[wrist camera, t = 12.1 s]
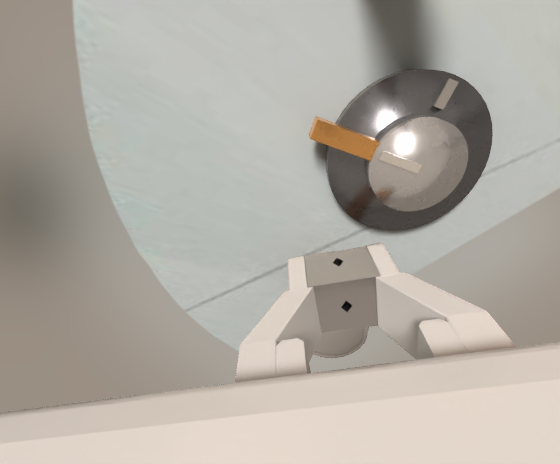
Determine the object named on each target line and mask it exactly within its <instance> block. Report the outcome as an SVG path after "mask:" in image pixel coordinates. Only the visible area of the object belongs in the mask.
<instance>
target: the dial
mask: <svg viewBox="0 0 560 464" xmlns="http://www.w3.org/2000/svg"><path fill="white" fill-rule="evenodd" d="M309 137H310V139H312V140H315V141H317V142H320V143H323V144H326V145H328V146H331V147H334V148H337V149H339V150H342V151H345V152H348V153H350V154H353V155H356V156H359V157H361V158H364V159H365V162H364V171H365V177H366V180H367V182H368V184H369V186H370V188H371V189H372V190H373V192H374V193H375V195H376V196H377V197H378V198H379V200H380V201H381V202H383V203H384V204H385V205H387V206H388V207H390V208H393V209H395V210H399V211H418V210H423V209H426V208H429V207H431V206H433V205H435V204H437V203H439V202H440V201H442V200H443V199H444V198H446V197H447V196H448V195H449V194H450V193H451V192H452V191H453V190H454V189H455V188H456V186H457V185H458V184H459V182H460V181H461V179H462V177H463V175H464V173H465V170H466V167H467V162H468V147H467V143H466V140H465V138H464V136H463V134H462V133H461V132H460V131H459V129H458V128H457V127H455V126H454V125H453V124H451V123H449V122H447V121H444V120H441V119H439V118H436V117H433V116H430V115H424V114H413V115H408V116H404V117H401V118H399V119H396V120H395V121H393V122H391V123H390V124H388V125H387V126H385V127H384V128H383V129H382V130H381V131H380V132H379V133H378V134H377V135H376V136H375V138H372V137H370V136H367V135H364V134H362V133H359V132H357V131H354V130H351V129H349V128H346V127H343V126H341V125H338V124H335V123H333V122H330V121H327V120H325V119H322V118H319V117H317V116H316V117H315V120H314V122H313V125H312V127H311V130H310V133H309Z"/></svg>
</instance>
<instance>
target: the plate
mask: <svg viewBox="0 0 560 464" xmlns="http://www.w3.org/2000/svg"><path fill="white" fill-rule="evenodd" d="M413 114H424V115H430V116H433V117H436V118H439V119H441V120H444V121H447V122H449V123H451V124H453V125H454V126H455V127H457V128H458V129H459V131H460V132H461V133H462V134H463V136H464V138H465V140H466V143H467V147H468V162H467V167H466V170H465V173H464V175H463V177H462V179H461V181H460V182H459V184H458V185H457V186H456V188H455V189H454V190H453V191H452V192H451V193H450V194H449V195H448V196H447V197H446V198H444V199H443V200H442V201H440V202H439V203H437V204H435V205H433V206H431V207H429V208H426V209H423V210H418V211H399V210H395V209H393V208H390V207H388V206H387V205H385V204H384V203H383V202H381V201H380V200H379V198H378V197H377V196H376V195H375V193H374V192H373V190H372V189H371V188H370V186H369V184H368V182H367V180H366V177H365V171H364V162H365V159H364V158H361V157H359V156H356V155H353V154H350V153H348V152H345V151H342V150H339V149H337V148H334V147H331V146H327V151H326V172H327V177H328V181H329V184H330V187H331V189H332V192H333V194H334V196H335V198H336V200H337V201H338V203H339V204H340V206H341V207H342V208H343V209H344V210H345V211H346V212H347V213H348V214H349V215H350V216H351V217H353V218H354V219H355V220H357V221H359V222H361V223H362V224H365V225H368V226H370V227H374V228H378V229H385V230H402V229H409V228H413V227H417V226H420V225H423V224H426V223H429V222H431V221H433V220H435V219H437V218H439V217H440V216H442V215H444V214H445V213H447V212H448V211H450V210H451V209H453V208H454V207H455V206H456V205H457V204H458V203H460V202H461V201H462V200H463V199H464V198H465V196H466V195H467V194H468V193H469V192H470V191H471V189H472V188H473V187H474V186H475V184H476V183H477V181H478V179H479V178H480V176H481V174H482V172H483V170H484V168H485V166H486V163H487V160H488V158H489V154H490V150H491V145H492V122H491V117H490V113H489V110H488V108H487V105H486V103H485V101H484V100H483V98H482V96H481V95H480V94H479V93H478V91H477V90H476V89H475V88H474V87H473V86H472V85H470V84H469V83H468V82H467V81H465V80H464V79H462V78H460V77H458V76H456V75H454V74H451V73H447V72H444V71H438V70H426V69H414V70H407V71H401V72H398V73H394V74H391V75H389V76H386V77H384V78H382V79H380V80H378V81H376V82H374V83H373V84H371V85H369V86H368V87H367V88H365V89H364V90H363V91H361V92H360V93H359V94H358V95H357V96H356V97H355V98H354V99H353V100H352V101H351V102H350V103H349V104H348V105H347V107H346V108H345V109H344V110H343V112H342V113H341V115H340V117H339V118H338V120H337V122H336V124H338V125H341V126H343V127H346V128H349V129H351V130H354V131H357V132H359V133H362V134H364V135H367V136H370V137H372V138H375V136H376V135H377V134H378V133H379V132H380V131H381V130H382V129H383V128H384V127H385V126H387V125H388V124H390V123H391V122H393V121H395V120H396V119H399V118H401V117H404V116H408V115H413Z"/></svg>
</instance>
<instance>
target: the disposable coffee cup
mask: <svg viewBox="0 0 560 464" xmlns="http://www.w3.org/2000/svg"><path fill="white" fill-rule="evenodd" d="M367 331H368V327H360V328H351V329H344V330H338V331H332V332H326V333H322V336H321V338H320V340H319V342H318V344H317V346H316V348H315V351H314V353H313V354H314V355H318V356H320V357H325V358H337V357H343V356H346V355H349V354H351V353H353V352H355V351H356V350H358V349H359V348H360V347H361V346H362V345H363V344H364V342H365V340H366V338H367Z"/></svg>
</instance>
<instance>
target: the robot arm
mask: <svg viewBox="0 0 560 464" xmlns="http://www.w3.org/2000/svg"><path fill="white" fill-rule="evenodd" d="M288 276H289V291H284V293H283V294H282V295H281V296H280V297H279V299H278V300H277V301H276V302H275V303H274V305H273V306H272V307H271V308H270V310H269V311H268V312H267V313H266V314H265V316H264V317H263V318H262V319H261V320H260V322H259V323H258V324H257V325H256V326H255V328H254V329H253V330H252V331H251V332H250V334H249V335H248V336H247V337H246V338H245V340H244V341H243V342H242V343H241V345H240V351H239V358H238V365H237V372H236V379H235V383H229V384H221V385H214V386H205V387H197V388H190V389H182V390H174V391H166V392H158V393H150V394H143V395H134V396H126V397H119V398H110V399H102V400H94V401H87V402H79V403H71V404H63V405H56V406H47V407H39V408H31V409H23V410H15V411H8V412H0V464H560V342H554V343H546V344H539V345H531V346H523V347H516V346H515V345H514V343H513V342H512V341H511V340H510V339H509V337H508V336H507V335H506V334H505V333H504V332H503V330H502V329H501V328H500V327H499V325H498V324H497V323H496V322H495V321H494V319H493V318H492V317H491V316H490V315H489V313H488V312H487V311H485V310H483V309H481V308H479V307H477V306H475V305H473V304H470V303H468V302H466V301H464V300H462V299H460V298H458V297H456V296H454V295H452V294H450V293H447V292H445V291H443V290H441V289H439V288H437V287H435V286H433V285H430V284H428V283H426V282H424V281H422V280H420V279H418V278H416V277H414V276H412V275H409V274H407V273H400V271H399V270H398V268H397V266H396V265H395V263H394V261H393V259H392V258H391V256H390V254H389V253H388V251H387V249H386V247H385V246H384V244H382V243H378V244H373V245H368V246H364V247H358V248H353V249H347V250H342V251H336V252H335V251H334V252H327V253H320V254H313V255H306V256H299V257H293V258H289V259H288ZM369 326H378V327H379V328H380V329H381V330H383V331H384V332H385V333H386V334H388V336H389V337H391V338H392V339H393V340H394V341H395V342H396V343H398V344H399V345H400V346H401V347H403V348H404V349H405V350H406V351H407V352H408V353H409V354H411V355H412V356H413V357H414V358H415V359H416V360H411V361H402V362H395V363H387V364H379V365H371V366H363V367H355V368H348V369H340V370H332V371H324V372H317V373H311V371H310V367H309V361H310V359H311V357H312V355H313V353H314V351H315V348H316V346H317V344H318V342H319V340H320V338H321V336H322V333H326V332H332V331H338V330H344V329H351V328H360V327H369Z"/></svg>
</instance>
